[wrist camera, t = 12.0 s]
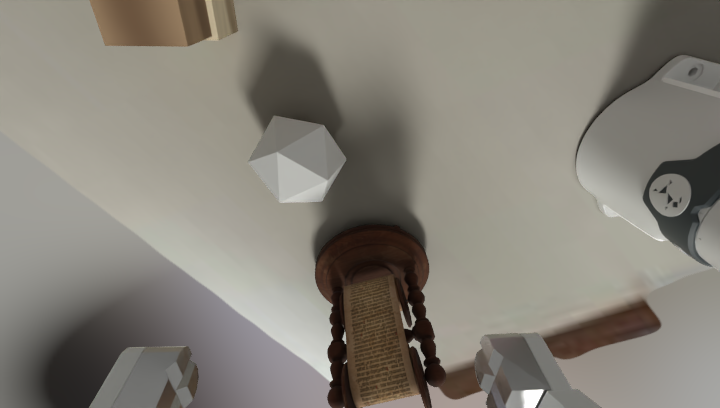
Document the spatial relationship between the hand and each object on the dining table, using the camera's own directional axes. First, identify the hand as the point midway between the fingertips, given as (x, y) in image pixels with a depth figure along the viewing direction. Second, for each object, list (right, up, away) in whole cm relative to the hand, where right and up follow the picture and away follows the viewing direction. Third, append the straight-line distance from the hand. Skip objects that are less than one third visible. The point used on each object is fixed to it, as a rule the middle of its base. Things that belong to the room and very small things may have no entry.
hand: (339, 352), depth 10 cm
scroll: (+2, -4, +37) cm, 38 cm away
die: (-6, +11, +28) cm, 30 cm away
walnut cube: (-13, +19, +15) cm, 27 cm away
